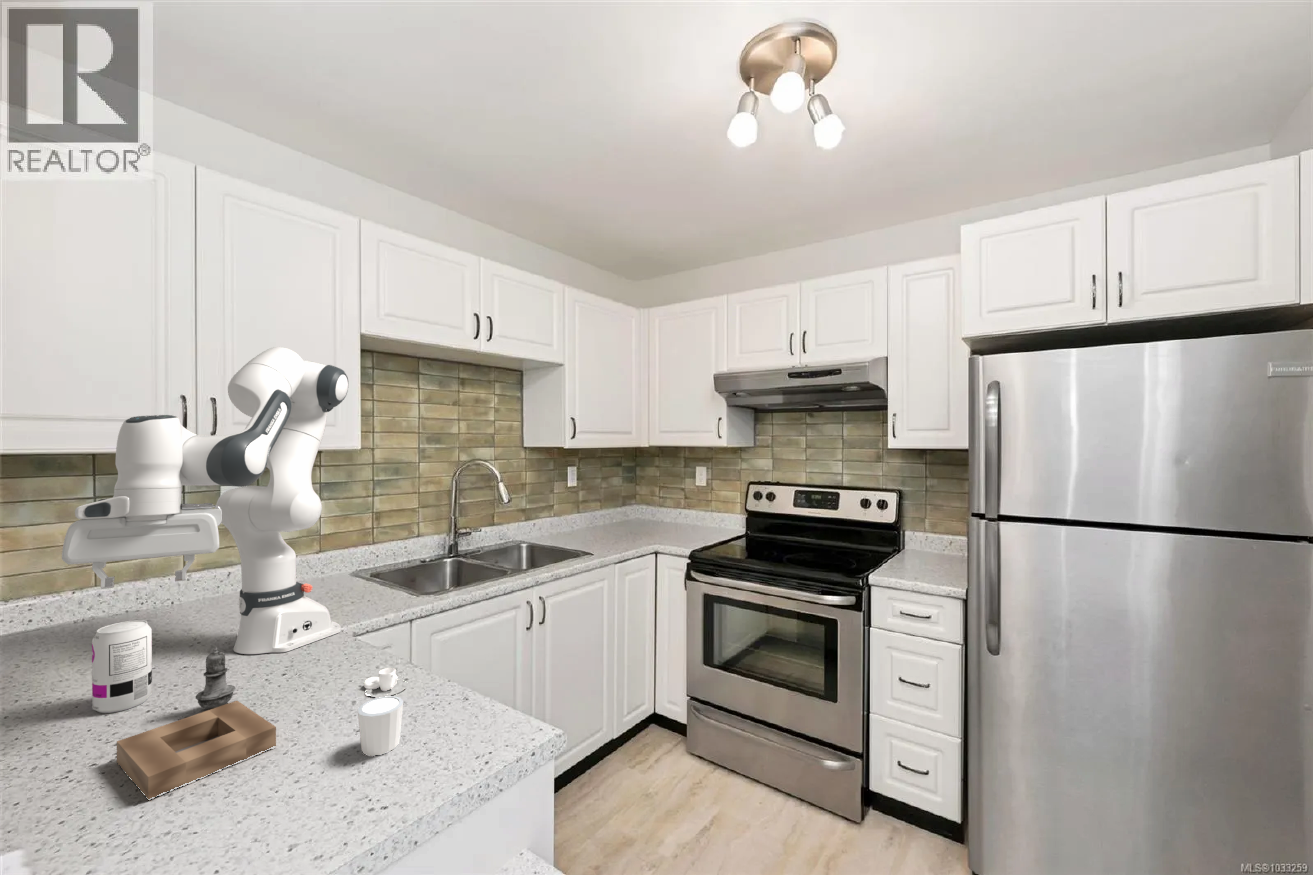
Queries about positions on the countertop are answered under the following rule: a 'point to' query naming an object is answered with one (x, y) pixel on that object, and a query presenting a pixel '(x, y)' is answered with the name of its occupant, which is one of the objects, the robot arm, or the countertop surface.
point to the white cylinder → (380, 724)
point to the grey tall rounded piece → (215, 683)
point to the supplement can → (121, 666)
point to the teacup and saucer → (382, 680)
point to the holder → (193, 747)
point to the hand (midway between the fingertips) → (145, 584)
